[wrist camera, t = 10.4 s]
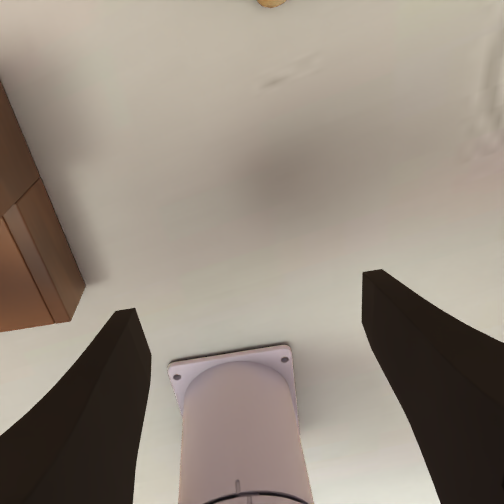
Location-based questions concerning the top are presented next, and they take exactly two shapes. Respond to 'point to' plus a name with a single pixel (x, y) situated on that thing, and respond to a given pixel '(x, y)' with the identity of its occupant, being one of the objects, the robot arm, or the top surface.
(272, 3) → the pastry
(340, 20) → the top surface
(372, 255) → the top surface
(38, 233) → the step rack
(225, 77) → the top surface
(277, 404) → the robot arm
